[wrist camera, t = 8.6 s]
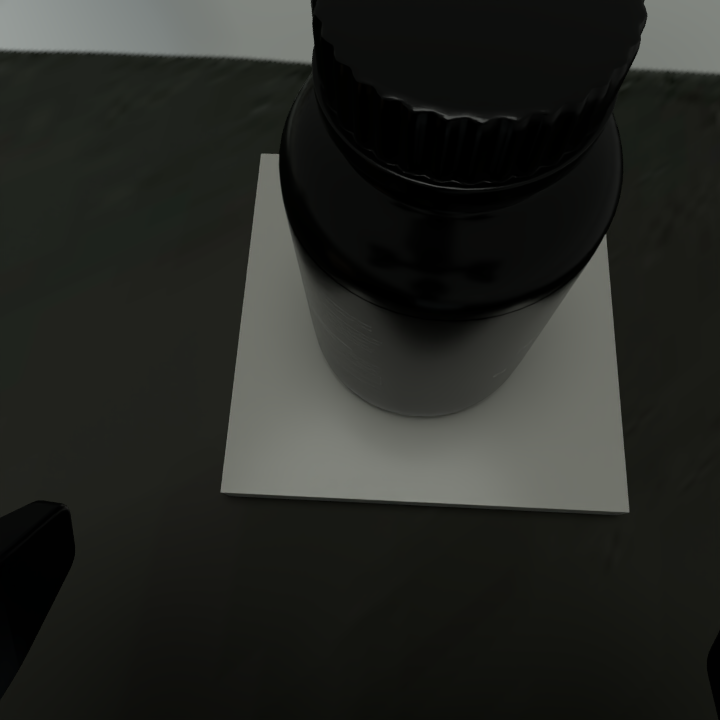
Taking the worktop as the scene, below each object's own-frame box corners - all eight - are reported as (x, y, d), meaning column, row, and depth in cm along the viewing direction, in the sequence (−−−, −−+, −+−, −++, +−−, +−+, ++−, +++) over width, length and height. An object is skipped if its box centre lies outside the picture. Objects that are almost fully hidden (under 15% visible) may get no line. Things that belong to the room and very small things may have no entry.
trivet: (616, 515, 19) (629, 512, 18) (228, 495, 19) (220, 492, 18) (590, 178, 23) (599, 162, 22) (266, 170, 23) (261, 153, 22)
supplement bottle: (546, 407, 19) (800, 169, 8) (326, 433, 19) (245, 232, 7) (505, 214, 21) (653, -197, 10) (307, 236, 21) (222, -151, 10)
